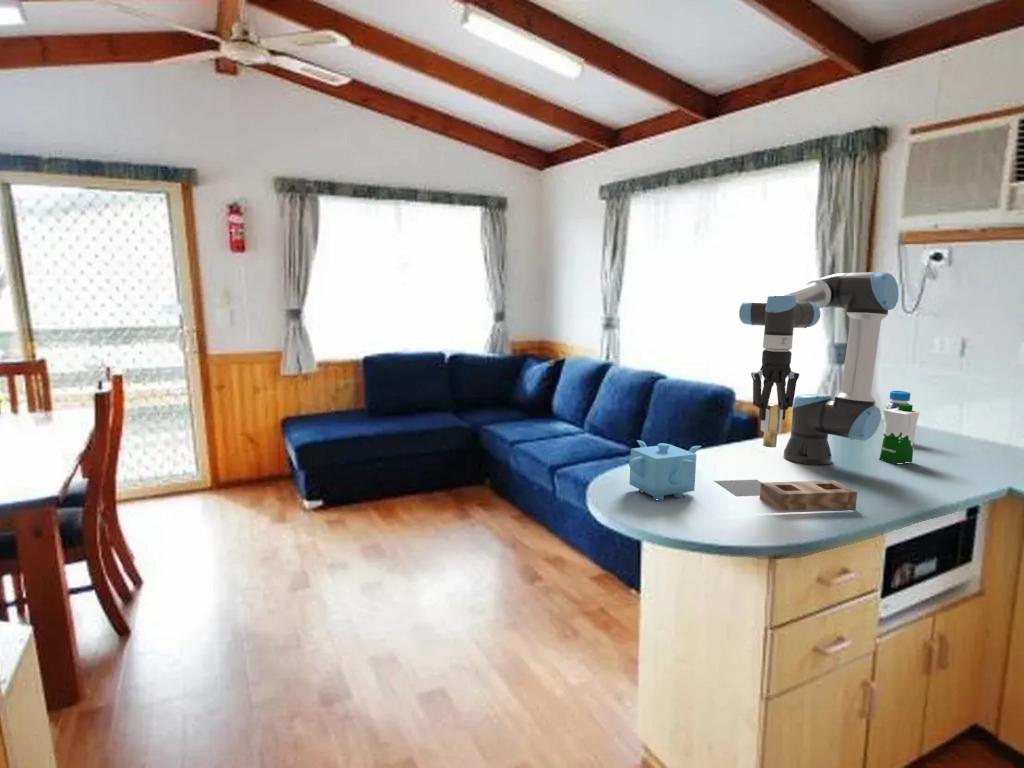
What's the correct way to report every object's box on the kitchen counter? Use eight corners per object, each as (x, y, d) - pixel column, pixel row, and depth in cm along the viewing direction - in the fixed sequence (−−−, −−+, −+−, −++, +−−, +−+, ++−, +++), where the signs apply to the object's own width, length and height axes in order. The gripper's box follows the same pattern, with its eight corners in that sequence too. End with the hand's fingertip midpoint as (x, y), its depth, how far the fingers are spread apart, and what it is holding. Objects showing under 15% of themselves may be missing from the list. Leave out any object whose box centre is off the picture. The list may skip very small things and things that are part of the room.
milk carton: (916, 463, 210) (923, 406, 207) (898, 465, 206) (905, 408, 203) (891, 456, 218) (898, 402, 215) (874, 459, 214) (880, 403, 211)
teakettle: (623, 499, 170) (625, 448, 168) (635, 480, 187) (637, 433, 185) (693, 508, 163) (696, 455, 161) (698, 487, 181) (701, 439, 178)
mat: (756, 481, 188) (756, 479, 188) (782, 496, 174) (782, 494, 174) (713, 482, 186) (713, 480, 186) (736, 497, 172) (736, 496, 172)
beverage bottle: (886, 438, 246) (891, 389, 243) (910, 441, 240) (916, 392, 237) (879, 441, 240) (884, 391, 237) (903, 445, 234) (909, 394, 231)
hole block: (831, 497, 174) (833, 480, 173) (855, 509, 164) (857, 491, 163) (759, 499, 171) (760, 482, 170) (779, 512, 161) (780, 494, 160)
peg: (772, 444, 177) (775, 403, 175) (778, 447, 173) (781, 406, 171) (760, 444, 176) (763, 403, 175) (766, 447, 173) (770, 406, 171)
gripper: (755, 351, 166) (749, 434, 170) (812, 351, 168) (805, 433, 171) (742, 348, 173) (737, 428, 177) (797, 348, 175) (790, 427, 179)
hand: (770, 430), depth 174 cm, fingers closed on peg, 3 cm apart
